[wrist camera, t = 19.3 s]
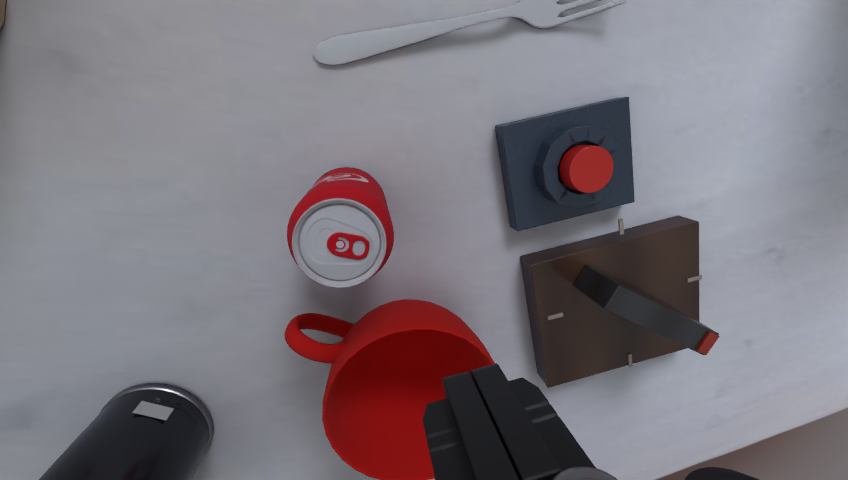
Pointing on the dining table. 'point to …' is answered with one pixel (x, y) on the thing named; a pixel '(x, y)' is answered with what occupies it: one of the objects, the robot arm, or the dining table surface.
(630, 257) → the control panel
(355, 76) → the dining table surface
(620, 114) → the button box
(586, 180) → the red button
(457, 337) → the ceramic cup
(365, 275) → the beverage can
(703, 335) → the bar knob
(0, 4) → the cake
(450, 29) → the fork
